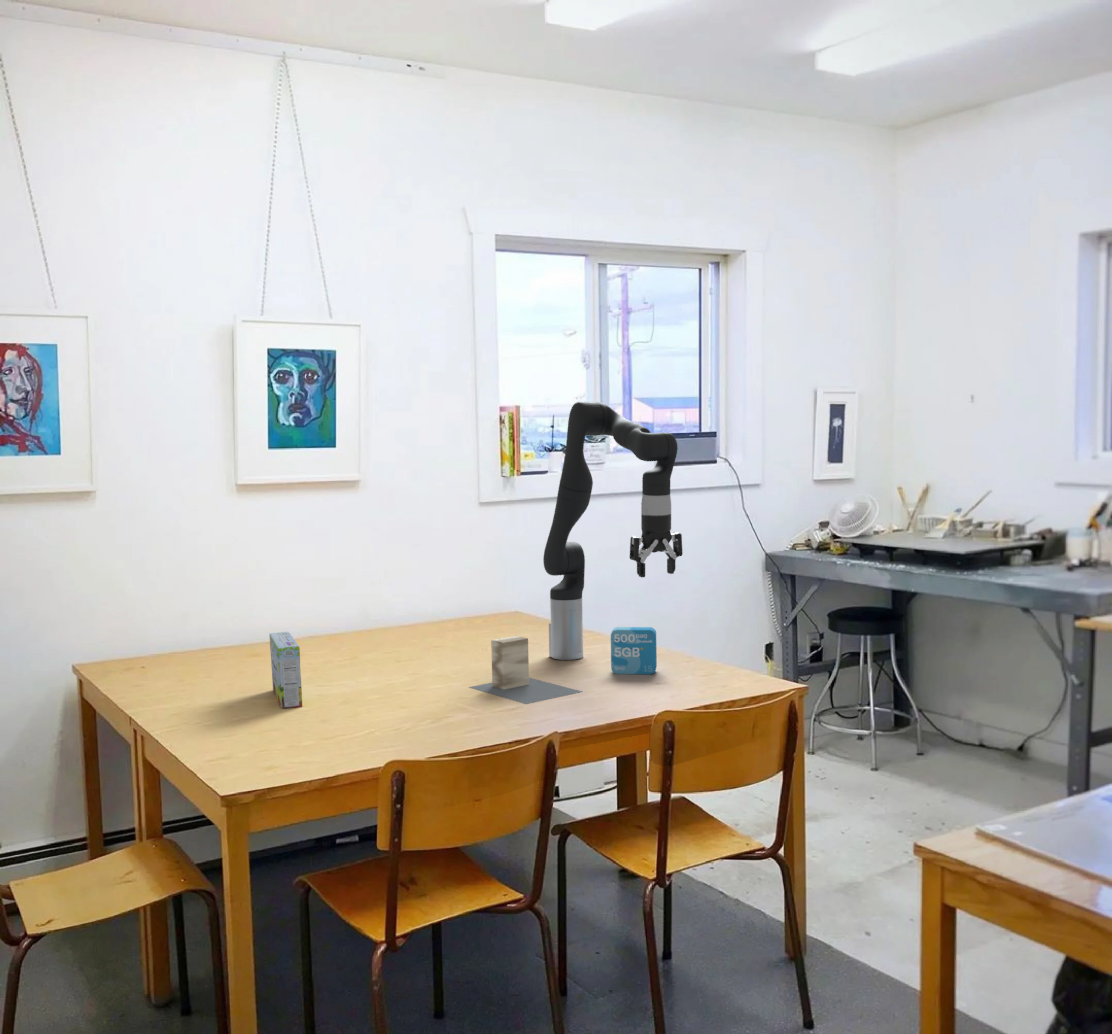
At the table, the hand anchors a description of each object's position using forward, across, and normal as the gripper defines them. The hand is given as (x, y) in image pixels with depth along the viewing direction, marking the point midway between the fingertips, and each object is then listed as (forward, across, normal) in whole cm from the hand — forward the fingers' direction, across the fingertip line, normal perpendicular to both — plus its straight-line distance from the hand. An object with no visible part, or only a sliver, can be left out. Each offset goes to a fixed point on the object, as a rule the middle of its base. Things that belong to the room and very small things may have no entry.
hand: (656, 575), depth 275 cm
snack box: (+28, +87, -33) cm, 98 cm away
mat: (+28, +33, -9) cm, 44 cm away
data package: (+29, -1, -13) cm, 32 cm away
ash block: (+28, +34, -15) cm, 47 cm away
